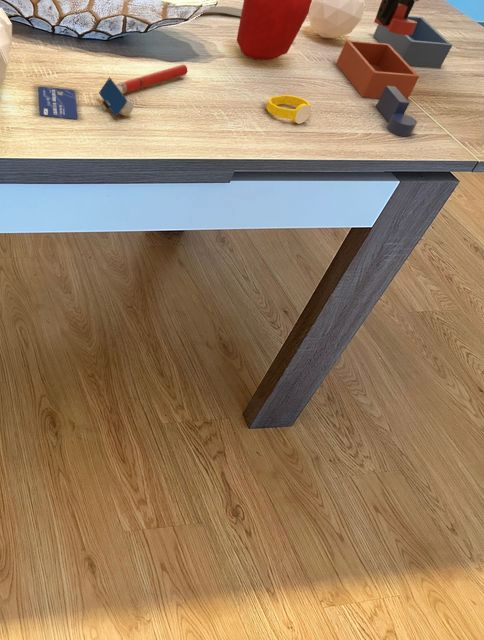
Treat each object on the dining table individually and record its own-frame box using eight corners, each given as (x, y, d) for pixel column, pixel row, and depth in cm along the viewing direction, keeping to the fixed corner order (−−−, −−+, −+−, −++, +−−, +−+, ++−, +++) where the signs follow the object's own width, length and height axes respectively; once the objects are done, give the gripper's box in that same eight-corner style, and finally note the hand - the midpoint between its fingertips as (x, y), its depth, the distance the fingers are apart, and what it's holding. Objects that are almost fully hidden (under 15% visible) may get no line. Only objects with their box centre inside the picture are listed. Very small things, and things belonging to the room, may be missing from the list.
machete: (164, 19, 128) (154, -2, 130) (159, 29, 130) (149, 8, 131) (282, 20, 137) (271, 0, 139) (275, 29, 139) (264, 10, 141)
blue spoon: (415, 137, 110) (427, 115, 108) (392, 135, 110) (404, 113, 107) (390, 107, 116) (401, 86, 114) (369, 106, 116) (379, 85, 113)
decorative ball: (278, 37, 137) (312, -31, 132) (328, 58, 139) (363, -8, 133) (293, 42, 129) (330, -30, 124) (346, 65, 131) (384, -6, 125)
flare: (115, 98, 108) (107, 93, 109) (186, 77, 115) (178, 73, 116) (117, 87, 107) (109, 82, 108) (189, 67, 114) (181, 62, 115)
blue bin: (440, 68, 130) (452, 45, 127) (399, 64, 129) (411, 41, 126) (411, 39, 138) (422, 16, 135) (372, 35, 137) (383, 13, 134)
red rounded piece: (252, 72, 120) (283, -15, 110) (215, 44, 126) (241, -41, 116) (301, 66, 124) (335, -19, 114) (263, 39, 130) (292, -44, 120)
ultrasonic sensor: (122, 125, 105) (137, 105, 103) (110, 120, 104) (125, 99, 102) (105, 101, 108) (119, 81, 106) (93, 96, 107) (107, 76, 105)
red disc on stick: (417, 36, 114) (426, 11, 112) (395, 34, 113) (404, 9, 111) (388, 23, 121) (397, 0, 119) (368, 21, 120) (376, -2, 118)
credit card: (77, 119, 103) (77, 119, 103) (39, 115, 102) (39, 115, 102) (74, 90, 108) (74, 90, 108) (38, 86, 108) (38, 86, 108)
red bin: (407, 100, 119) (419, 76, 116) (362, 97, 118) (373, 72, 115) (377, 67, 127) (389, 43, 124) (335, 63, 126) (346, 39, 123)
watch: (292, 87, 112) (321, 101, 108) (287, 105, 114) (316, 120, 110) (262, 94, 110) (291, 108, 106) (257, 112, 112) (286, 127, 108)
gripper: (410, -107, 101) (351, 28, 114) (514, -94, 103) (444, 37, 116) (388, -123, 106) (333, 8, 119) (487, -110, 108) (423, 17, 121)
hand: (389, 21), depth 118 cm, fingers closed on red disc on stick, 1 cm apart
